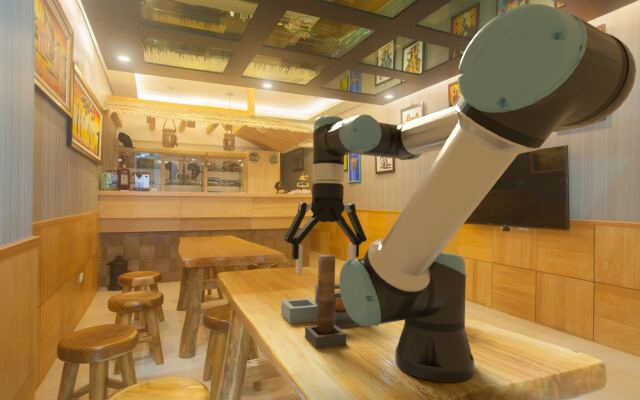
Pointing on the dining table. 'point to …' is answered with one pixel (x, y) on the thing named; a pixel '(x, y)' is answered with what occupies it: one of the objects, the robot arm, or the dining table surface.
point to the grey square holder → (299, 310)
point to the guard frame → (339, 317)
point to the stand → (325, 337)
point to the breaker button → (339, 305)
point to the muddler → (326, 294)
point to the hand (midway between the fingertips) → (325, 272)
